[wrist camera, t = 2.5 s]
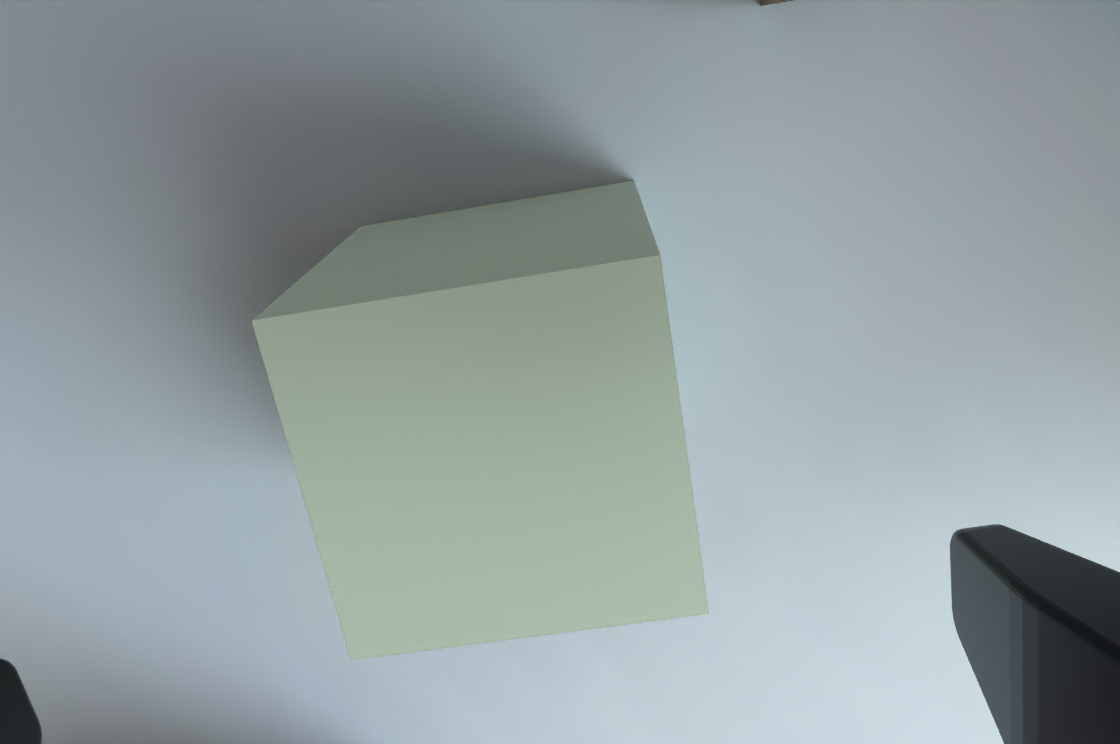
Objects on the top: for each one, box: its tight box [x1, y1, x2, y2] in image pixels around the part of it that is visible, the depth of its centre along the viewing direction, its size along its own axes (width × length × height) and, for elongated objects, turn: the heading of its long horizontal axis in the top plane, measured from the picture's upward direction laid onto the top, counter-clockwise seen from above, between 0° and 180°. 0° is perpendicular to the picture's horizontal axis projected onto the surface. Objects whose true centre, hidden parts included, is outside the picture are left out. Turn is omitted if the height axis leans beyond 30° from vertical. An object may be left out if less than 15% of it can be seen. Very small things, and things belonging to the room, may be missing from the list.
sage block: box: [251, 180, 709, 660], centre depth 15 cm, size 5×5×6 cm
